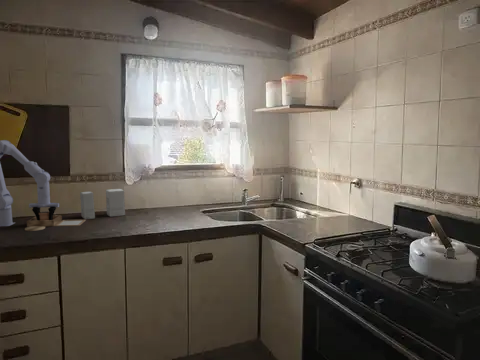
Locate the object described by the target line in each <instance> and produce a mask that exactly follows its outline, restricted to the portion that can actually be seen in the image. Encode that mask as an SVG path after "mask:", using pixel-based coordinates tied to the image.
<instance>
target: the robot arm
mask: <svg viewBox="0 0 480 360" xmlns="http://www.w3.org/2000/svg"><path fill="white" fill-rule="evenodd" d="M4 155H8V156H12V157H13V158H14V159H15V160H16V161H18V162H19V163H20V164H21V165H22V166H23V167H24V170H25V172H26V173H28V174H29V175H30V176H32V178H33V179H34V181H35V183H36V185H37V188H36V191H37V202H36V203H35V202H33V203H28V208H29V209H31V208H32V209H31V211H32V212H33V214H34V215H35V216H36V218H37V220H40V215H39V212H41V208H48V210H47V211H49V220H52V219H53V215H54V214H55V212H56V210H57V208H60V203H59V202H51V192H50V190H51V189H50V181H51V175H50V173H49V172H48V171H45V170H44V169H42V167H40V166H39V165H38V163H37V162H36V161H35V162H34V161H31V160H29V158H27V157H26V156H25V155H24V153H22V152H21V151H20V150H19V149H18V148H17V147H16V146H15V145H14V144H13V143H11V141H9V140H7V139H3V140H2V139H1V140H0V159H2V157H3V156H4ZM1 163H2V162H0V227H10V226H12V225H14V224H16V222H13V211H12V210H13V209H12V205H13V203H14V198H13V196H12V195H11V193H10V191H9V189H7V186H6V181H5V176H4V173H3V168H2V164H1Z"/></svg>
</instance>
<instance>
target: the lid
mask: <svg viewBox="0 0 480 360" xmlns="http://www.w3.org/2000/svg"><path fill="white" fill-rule="evenodd" d="M86 221H87V219H62V221H61V222H59V223H58V224H56V225H55V226H54V227H78V226H79V227H80V226H81V225H82V224H83V223H84V222H86Z"/></svg>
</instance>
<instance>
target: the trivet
mask: <svg viewBox="0 0 480 360" xmlns="http://www.w3.org/2000/svg"><path fill="white" fill-rule="evenodd" d="M44 229H46V226H30V227H27V226H26V227H25V228H24V231H27V232H33V231H34V232H35V231H42V230H44Z"/></svg>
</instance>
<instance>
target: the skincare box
mask: <svg viewBox="0 0 480 360" xmlns="http://www.w3.org/2000/svg"><path fill="white" fill-rule="evenodd" d="M79 195H80V198H79V199H80V213H81V217H82V218H83V220H88V219H89V220H94V219H95V218H96V214H95V201H94V192H92V191H83V192H79Z"/></svg>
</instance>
